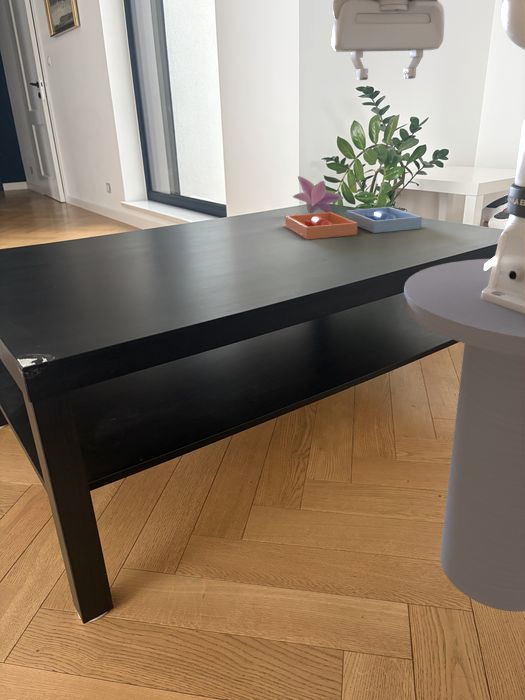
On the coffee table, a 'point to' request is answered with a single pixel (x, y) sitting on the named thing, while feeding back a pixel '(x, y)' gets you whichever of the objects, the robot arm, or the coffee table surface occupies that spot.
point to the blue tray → (400, 223)
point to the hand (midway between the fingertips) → (386, 79)
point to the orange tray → (337, 228)
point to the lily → (316, 196)
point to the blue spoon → (380, 216)
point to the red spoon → (316, 222)
